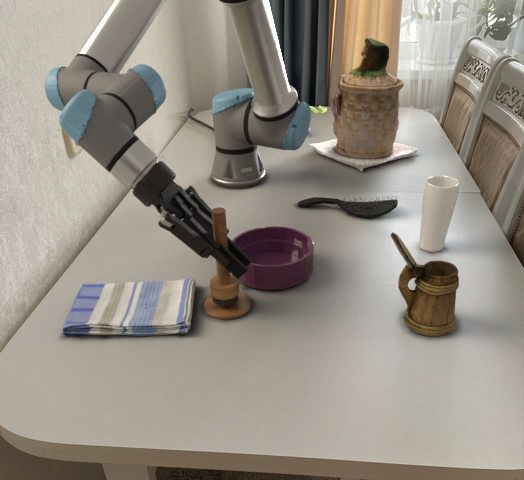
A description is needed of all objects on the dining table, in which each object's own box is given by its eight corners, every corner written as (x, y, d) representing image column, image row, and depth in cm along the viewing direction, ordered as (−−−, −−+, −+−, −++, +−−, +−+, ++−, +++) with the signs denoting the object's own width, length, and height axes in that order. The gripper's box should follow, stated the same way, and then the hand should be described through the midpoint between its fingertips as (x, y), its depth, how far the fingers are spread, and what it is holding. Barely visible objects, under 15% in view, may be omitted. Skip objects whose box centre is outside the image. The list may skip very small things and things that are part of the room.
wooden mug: (375, 308, 103) (386, 220, 92) (448, 308, 103) (467, 219, 92) (382, 337, 96) (395, 245, 85) (460, 336, 96) (483, 244, 85)
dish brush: (206, 296, 105) (197, 208, 94) (231, 288, 107) (225, 201, 96) (219, 309, 102) (211, 219, 90) (244, 301, 104) (239, 212, 93)
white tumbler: (447, 242, 123) (461, 177, 114) (445, 256, 118) (458, 189, 109) (417, 238, 125) (427, 173, 116) (413, 252, 120) (424, 185, 111)
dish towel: (191, 336, 98) (189, 323, 96) (60, 339, 99) (56, 327, 97) (199, 285, 112) (198, 273, 110) (84, 288, 112) (81, 276, 110)
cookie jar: (420, 154, 167) (438, 35, 147) (360, 173, 157) (370, 47, 137) (364, 135, 183) (374, 25, 164) (306, 150, 173) (309, 35, 153)
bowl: (217, 264, 118) (215, 239, 115) (285, 244, 125) (285, 219, 121) (256, 301, 106) (254, 275, 103) (329, 277, 113) (330, 251, 109)
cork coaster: (196, 302, 107) (196, 299, 107) (237, 288, 110) (237, 286, 110) (216, 325, 101) (216, 322, 100) (259, 310, 104) (259, 307, 104)
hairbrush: (301, 188, 142) (399, 191, 136) (301, 202, 145) (398, 205, 138) (293, 201, 136) (396, 205, 130) (294, 215, 138) (395, 220, 132)
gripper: (149, 173, 100) (242, 260, 108) (113, 208, 89) (220, 303, 96) (173, 145, 96) (267, 238, 103) (139, 177, 84) (248, 280, 92)
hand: (244, 269), depth 100 cm, fingers closed on dish brush, 2 cm apart
